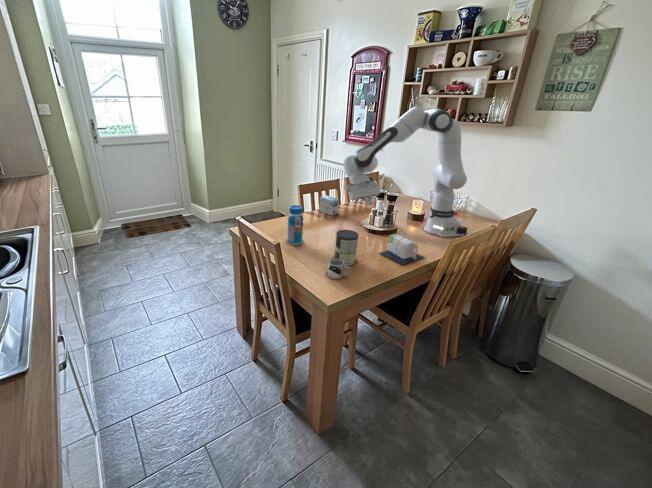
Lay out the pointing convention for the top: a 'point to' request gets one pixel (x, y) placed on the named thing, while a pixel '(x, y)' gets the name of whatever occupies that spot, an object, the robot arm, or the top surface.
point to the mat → (399, 259)
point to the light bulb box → (329, 205)
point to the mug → (337, 269)
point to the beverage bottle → (295, 225)
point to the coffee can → (346, 246)
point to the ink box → (402, 246)
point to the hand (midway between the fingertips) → (370, 204)
